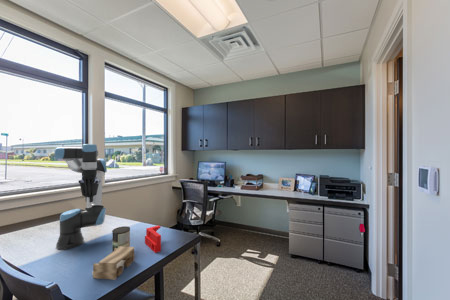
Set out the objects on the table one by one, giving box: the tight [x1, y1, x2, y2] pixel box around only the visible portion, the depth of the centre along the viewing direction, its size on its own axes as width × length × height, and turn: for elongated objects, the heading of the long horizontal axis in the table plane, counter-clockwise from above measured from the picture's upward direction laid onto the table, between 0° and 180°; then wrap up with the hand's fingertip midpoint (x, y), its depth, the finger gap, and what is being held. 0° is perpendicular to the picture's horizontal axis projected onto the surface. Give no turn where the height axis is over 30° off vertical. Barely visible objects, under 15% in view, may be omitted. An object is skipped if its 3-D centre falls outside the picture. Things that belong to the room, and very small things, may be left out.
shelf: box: [92, 246, 135, 281], centre depth 108 cm, size 12×17×8 cm
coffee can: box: [111, 225, 131, 253], centre depth 128 cm, size 10×10×14 cm
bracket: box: [144, 224, 162, 254], centre depth 136 cm, size 18×10×10 cm
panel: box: [91, 260, 126, 277], centre depth 108 cm, size 12×12×4 cm
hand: (89, 207), depth 121 cm, fingers closed
